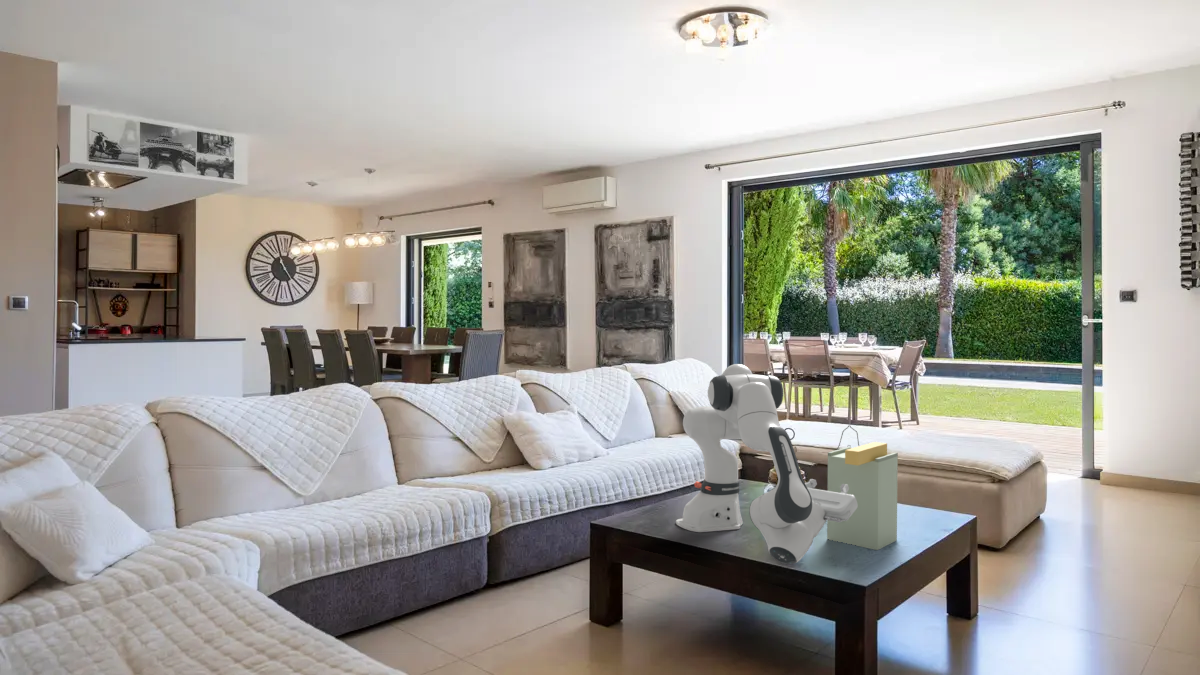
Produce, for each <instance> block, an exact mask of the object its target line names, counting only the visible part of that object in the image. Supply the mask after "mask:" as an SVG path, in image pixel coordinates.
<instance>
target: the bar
mask: <svg viewBox="0 0 1200 675" xmlns="http://www.w3.org/2000/svg"><path fill="white" fill-rule="evenodd" d="M885 455H888V443H887V442H879V441H873V442H870V443H866V444H861V445H859V446H858V445H857V446H855V447H851V449H847V450H845V464H851V465H861V464H865V463H868V462H871V461H874V460H875V459H876V458H879V457H882V456H885Z"/></svg>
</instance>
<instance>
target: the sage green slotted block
mask: <svg viewBox="0 0 1200 675" xmlns="http://www.w3.org/2000/svg"><path fill="white" fill-rule="evenodd" d="M851 448H852V447H851V446H847V447H843V448H838V450H837V449H836V450H833V451H829V452H827V491H832V492H838V493H841V489H840V486H841V485H842V484H847V485H848V487H849V490H848V491H847V494H851V495H854V496H855V498H856V500H857V505H858V507H857V509H856V510H855V512H854V513H853V514H852V515H851V516H850V517H849V519H848V520H847V521H841V522H836V521H828V520H826V522H827V524H826V527H827V528H826V532H827V534H826V540H827V539H829V540H828V541H832V540H833V542H837V541H838V543H841V542H843V543H842V544H846V543H847V544H846V545H851V544H852V545H851V546H855V545H856V547H860V548H866V549H870V550H875V551H879V550H881V549H883V548H885V547H887V546H888V545H891V544H893V543H894V542H897V541H898V471H899V470H898V466H899V463H898V461H899V460H898V452H891V453H887V455H885V456H882V457H879V458H876V459H875V460H874V461H871V462H868V463H865V464H861V465H851V464H845V450H847V449H851Z"/></svg>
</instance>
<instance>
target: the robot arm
mask: <svg viewBox="0 0 1200 675" xmlns="http://www.w3.org/2000/svg"><path fill="white" fill-rule="evenodd" d="M707 387H708V389H707V398H708V401H709V406H708V405H707V406H699V407H692V408H689V409H688V410H687V411H686V412H685V414H684V415H683V419H682V426H683V427H682V428H683V431H684V432H685V433H686V435H687V436H688V437H689V438H691V439H692V440H693V441H694V442H695V443H696V444H697V446H698V448H700V451H701V453H702V456H703V465H704V480H703V481H702V482H700V481H695V482H694V487H695V488H697V489H700V490H699V492H698V493H697V494H696V495H695V496H694V497H693V498H692V499H691V500H689V501H688V502H687V503H686V504H685V505H684V508H683V513H682V518H678V519H676V520H675V524H676V525H677V526H678V527H680V528H682V529H685V530H688V531H691V532H696V533H707V532H717V531H719V532H720V531H730V530H733V531H734V530H739V529H741V526H742V525H743V523H744V522H743V519H742V514H741V507H740V500H739V496H740V480H739V459H738V457H737V455H736V454H735V453H734V452H732V451H730V450H729V449H727V448H725V447H723V446H722V445H721V440H741V442H743V444H744V445H745V446H747V447H748V448H749V449H752V450H753V451H754V450H755V451H760V452H769V454H770V456H771V458H772V462H773V465H774V466H773V467H774V468H775V472H776V476H777V479H778V480H777V484H776V486H775V487H774V488H773V489H771V490H770V491H767V492H765V493H763V494H761V495H759V496H758V497H756V498H754V499H753V500H752V501H751V502H750V504H749V513H748V514H749V519H750V520H751V523H752V524H753V525H754V527H755V528H757V530H759V532H760V533H761V534H762V536H763V537H764V539H765V541H766V544H767V549H768V550H767V551H768V553H769V555H770V556H771V557H772V558H773V560H775V561H777V562H778V563H781V564H785V565H794V564H797V563H798V562H800V561H801V560H802V559H803V558H804V556H805V555H806V553H807V552H808V551H809V549H810V548H811V546H812V545H813V543H814V538H816V537H817V536H818V535H819V534H820V532H821V530H822V529H823V527H824V525H825V524H826V522H827V520H828V521H836V522H841V521H847V520H848V519H849V517H850V516H851V515H852V514H853V513H854V512H855V510H856V509H857V507H858V505H857V500H856V498H855V496H854V495H851V494H847V491H848V490H849V487H848V485H847V484H842V485H841V486H840V489H841V493H838V492H832V491H828V490H825V489H818V488H816V486H817V485H818V483H817V479H813V478H810V479H809V480H808V481H807V482H805V481H804V478H803V475H802V472H801V467H800V465H799V463H798V459H797V454H796V452H795V449H794V446H793V443H792V440H791V438H790V435H789V434H788V432H787V431H786V429H785V428H783V427H782V426H781V424H780V421H779V415H778V411H777V410H778V409H779V408H780V406H781V405H782V403H783V399H784V386H783V383H782V381H781V380H780V379H779V378H778V376H774V375H772V374H764V375H763V374H756V373H755V374H754V373H753V372H752V371H751V369H750V368H749V367H747V366H746V365H744V364H740V363H734V364H731V365H729V366H727V367H726V368H725V369H724V371H723V372H722V374H721V375H716V376H713V378H711V380H710V382H709V384H708V386H707Z"/></svg>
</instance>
